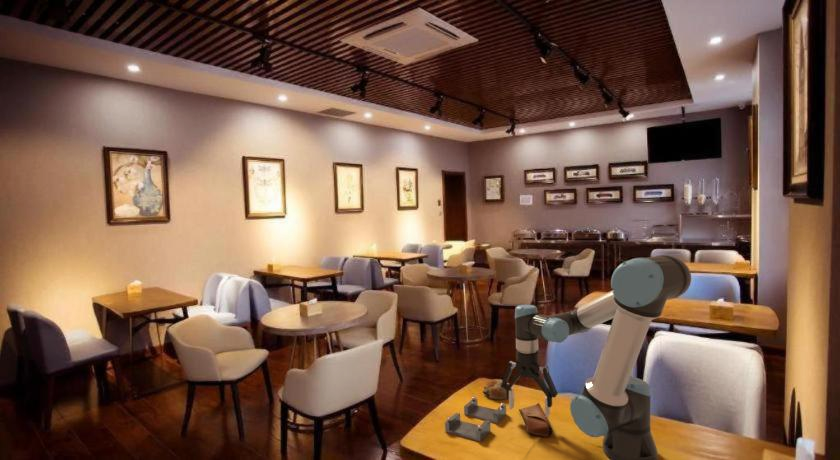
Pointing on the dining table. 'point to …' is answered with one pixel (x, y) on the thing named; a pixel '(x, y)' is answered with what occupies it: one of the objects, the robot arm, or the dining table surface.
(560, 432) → the dining table surface
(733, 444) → the dining table surface
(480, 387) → the dining table surface
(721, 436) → the dining table surface
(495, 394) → the bread roll
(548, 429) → the sunglasses case
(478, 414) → the bent steel plates
